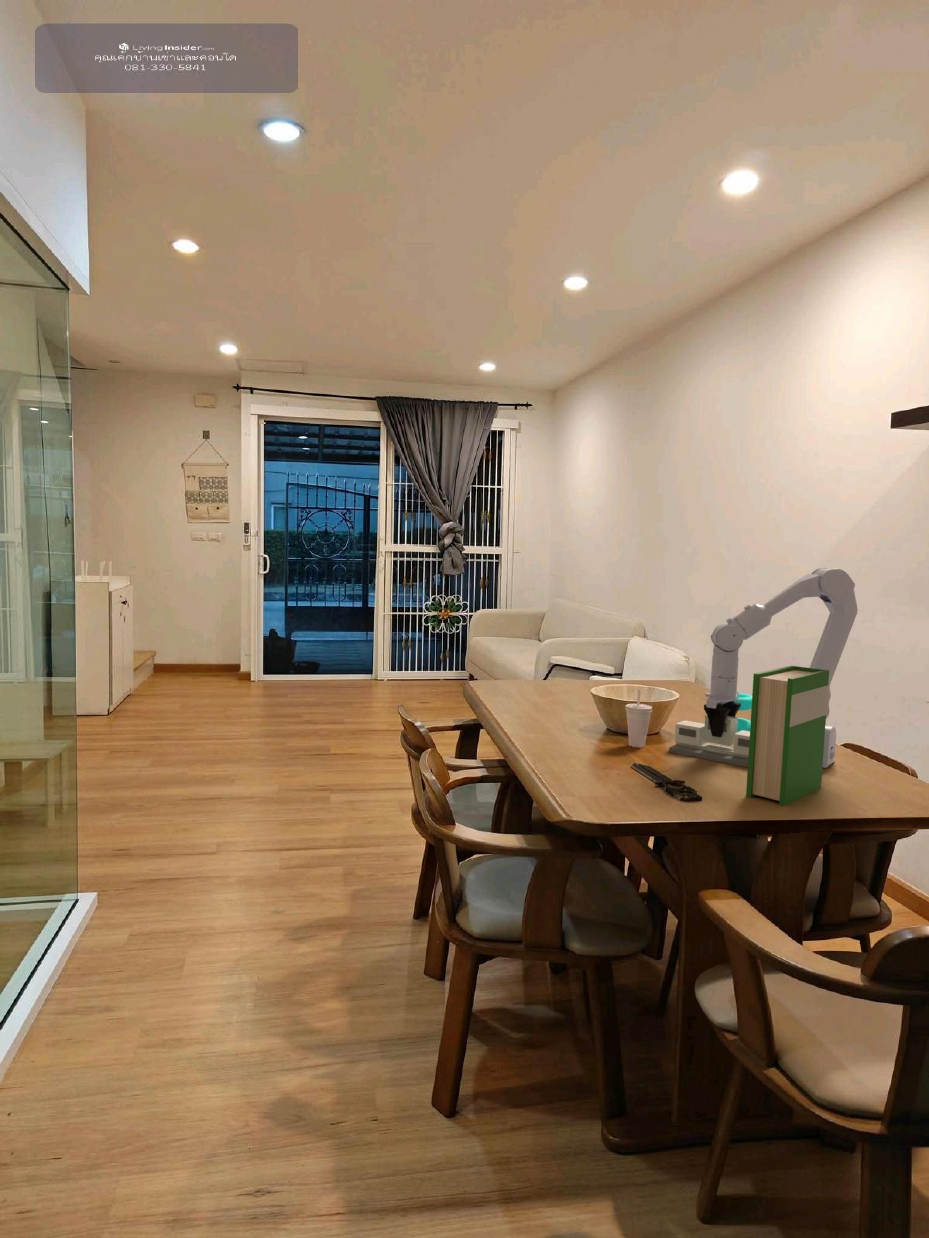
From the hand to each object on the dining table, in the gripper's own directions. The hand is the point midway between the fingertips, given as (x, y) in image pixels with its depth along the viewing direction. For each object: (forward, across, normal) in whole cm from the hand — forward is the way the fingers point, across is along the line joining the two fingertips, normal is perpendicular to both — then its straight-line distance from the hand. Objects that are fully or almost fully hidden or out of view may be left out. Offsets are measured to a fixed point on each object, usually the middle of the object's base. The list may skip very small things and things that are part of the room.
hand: (720, 734), depth 176 cm
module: (+2, 0, 0) cm, 2 cm away
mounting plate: (+5, 0, 0) cm, 5 cm away
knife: (+6, +29, -1) cm, 30 cm away
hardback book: (+5, +18, +20) cm, 27 cm away
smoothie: (+5, +6, -18) cm, 20 cm away
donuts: (+5, -26, -6) cm, 27 cm away
